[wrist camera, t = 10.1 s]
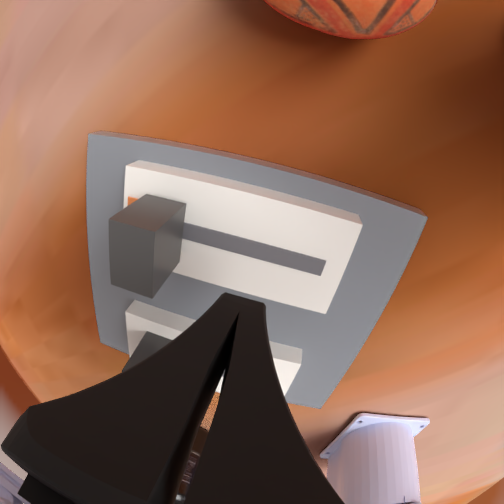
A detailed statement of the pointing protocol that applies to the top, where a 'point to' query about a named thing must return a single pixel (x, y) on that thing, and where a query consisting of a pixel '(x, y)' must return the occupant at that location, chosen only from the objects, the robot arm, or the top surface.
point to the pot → (356, 15)
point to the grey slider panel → (251, 254)
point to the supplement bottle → (191, 465)
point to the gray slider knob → (145, 244)
